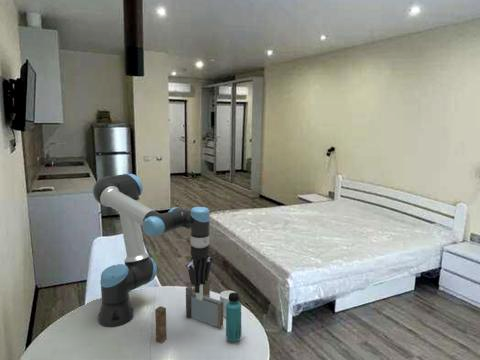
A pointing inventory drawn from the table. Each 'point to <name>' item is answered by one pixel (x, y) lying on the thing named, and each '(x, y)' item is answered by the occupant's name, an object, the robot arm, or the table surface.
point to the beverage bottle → (233, 318)
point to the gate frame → (161, 312)
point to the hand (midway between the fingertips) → (199, 298)
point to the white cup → (225, 300)
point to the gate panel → (207, 310)
